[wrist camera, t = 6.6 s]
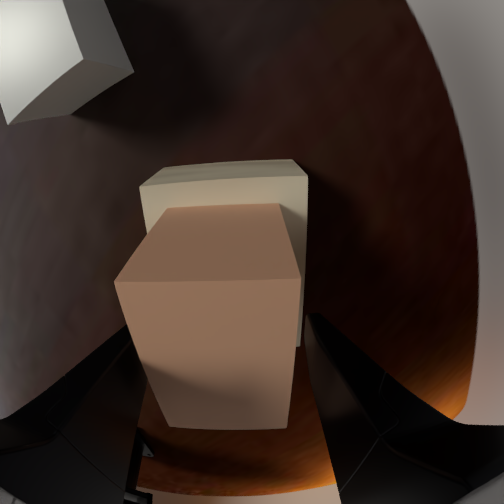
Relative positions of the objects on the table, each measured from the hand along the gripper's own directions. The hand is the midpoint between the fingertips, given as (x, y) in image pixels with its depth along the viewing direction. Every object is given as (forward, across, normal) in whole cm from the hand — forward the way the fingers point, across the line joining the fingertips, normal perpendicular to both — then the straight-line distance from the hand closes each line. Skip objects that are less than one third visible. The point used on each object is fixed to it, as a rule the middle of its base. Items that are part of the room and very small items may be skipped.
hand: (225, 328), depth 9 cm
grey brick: (+7, +7, -11) cm, 15 cm away
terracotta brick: (+3, 0, 0) cm, 3 cm away
